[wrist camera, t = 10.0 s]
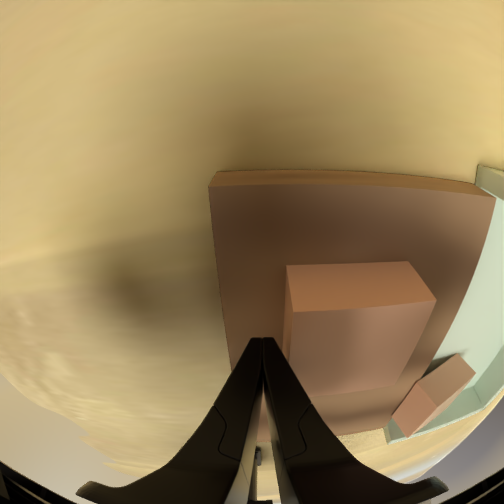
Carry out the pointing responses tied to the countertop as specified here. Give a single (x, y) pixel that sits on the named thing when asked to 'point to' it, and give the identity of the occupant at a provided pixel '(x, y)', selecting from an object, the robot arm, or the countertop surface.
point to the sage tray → (475, 324)
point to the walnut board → (342, 258)
